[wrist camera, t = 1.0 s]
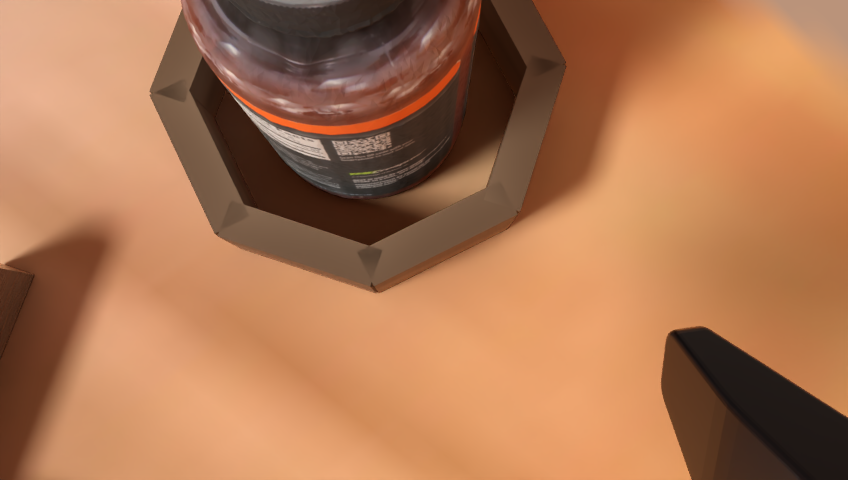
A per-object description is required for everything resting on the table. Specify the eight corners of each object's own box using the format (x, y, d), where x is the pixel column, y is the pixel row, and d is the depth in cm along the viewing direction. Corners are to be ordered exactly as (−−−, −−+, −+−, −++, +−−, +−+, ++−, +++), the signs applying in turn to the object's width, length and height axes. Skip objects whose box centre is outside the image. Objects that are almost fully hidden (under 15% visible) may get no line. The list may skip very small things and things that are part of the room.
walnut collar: (599, 182, 22) (621, 162, 20) (282, 341, 22) (264, 340, 19) (441, -107, 24) (443, -160, 21) (137, 34, 23) (103, -4, 21)
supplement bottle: (379, -23, 23) (340, -363, 12) (504, 119, 23) (586, -100, 12) (226, 96, 23) (39, -146, 12) (350, 246, 22) (279, 143, 11)
